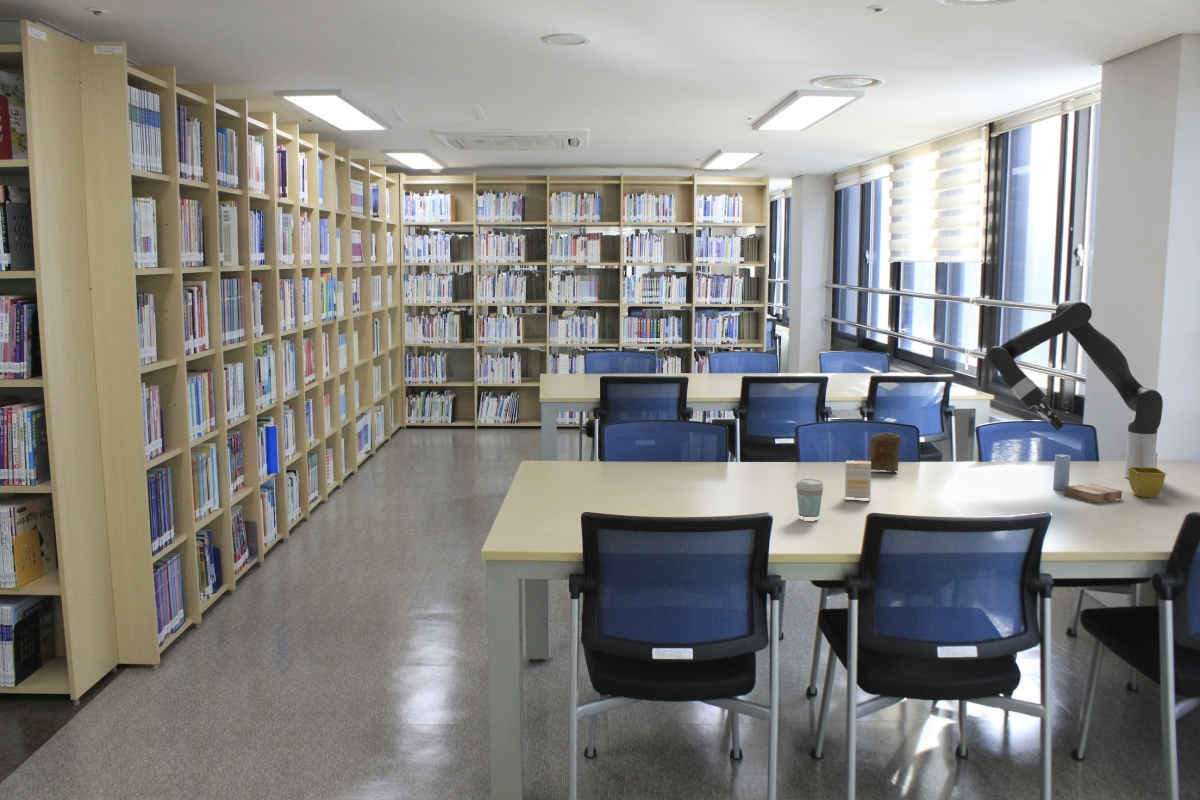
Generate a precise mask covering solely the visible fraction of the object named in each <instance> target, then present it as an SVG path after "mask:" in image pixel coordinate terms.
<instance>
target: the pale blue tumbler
mask: <svg viewBox="0 0 1200 800" xmlns="http://www.w3.org/2000/svg"><path fill="white" fill-rule="evenodd" d="M1070 469H1071V455H1069V454H1062V453H1061V454H1054V469H1053V470H1054V471H1053V485H1052V486H1053V487H1052V488H1053V490H1054V489H1055V491H1058V490H1059V491H1060V492H1065V487H1066V486H1070V471H1071V470H1070Z"/></svg>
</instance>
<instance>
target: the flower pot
mask: <svg viewBox="0 0 1200 800" xmlns="http://www.w3.org/2000/svg"><path fill="white" fill-rule="evenodd" d="M1128 469H1129V478H1128V482H1129V486H1130V488H1131V490H1132V492H1133V494H1135V496H1136V495H1138V497H1139V496H1141V497H1140V498H1156V497H1157V496H1158V495H1159V494H1160V493H1161V491H1162V489H1163V487H1164V483H1165V479H1166V473H1165V472H1164V471H1162V470H1160V469H1159V468H1158V467H1156V468H1146V467H1128Z"/></svg>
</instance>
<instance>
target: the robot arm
mask: <svg viewBox="0 0 1200 800" xmlns="http://www.w3.org/2000/svg"><path fill="white" fill-rule="evenodd" d="M1092 314H1093V311H1092V308H1091V306H1090V305H1089V304H1088V303H1087V302H1084V301H1079V300H1067V301H1063V302H1061V303H1059V304H1058V305H1057V307H1056V309H1055V317H1054V318H1051V319H1049V320H1048V321H1044V322H1043V323H1040V324H1037V325H1035V326H1032V327H1029V328H1026V329H1025V330H1023V331H1022V332H1019V333H1017V334H1016V335H1014V336H1012V337H1010V338H1009V339H1008V340H1007V341H1006V342H1004V344H1002V345H999V346H998V345H993V346H991V348H989V349H988V350H987V352H986V353H985V354H984V355H985V356H984V358H983V363H984V366H985V367H987V368H988V369H990V370H997V371H998V372H999V373H1000V376H1001V379H1002V381H1003V383H1004V384H1006V386H1007V387H1008V388H1009V389H1010V390H1011V391H1012V393H1013V395H1014V396H1016V398H1018V400H1019V401H1020V402H1021V403H1022V405H1024V406H1025V408H1026V409H1028V410H1030V409H1032V408H1033V407H1035V409H1036V413H1037V414H1039V415H1040V416H1041V418H1042V419H1044V420H1045V421H1046V422H1047V423H1050V425H1051V426H1052V427H1053V428H1054V429H1055V430H1056V431H1060V429H1062V428H1063V427H1064V426H1065V425H1064V423H1063V422H1062V421H1061V420H1060V419H1059V418H1058V416H1057V415H1056V413H1055V412H1054V410H1053V409H1052V408H1051V407H1050V406H1049V404H1048V403H1046V402H1045V401H1043V400H1044V399H1045V398H1046V397H1047V395H1046V394H1045V393H1044V391H1042V389H1040V387H1039V386H1038V385H1037V384H1036V383H1035V382H1034V380H1032V379H1031V378H1029V376H1027V374H1026V373H1025V372H1024V371H1023V370H1022V369H1021V368H1020V366H1018V364H1017V363H1016V361H1015V359H1016V358H1017V357H1020V356H1021V355H1024V354H1025V353H1027V352H1030V351H1031V350H1033V349H1035V348H1036V347H1038V346H1040V345H1042V344H1044V343H1045V342H1047V341H1049V340H1051V339H1053V338H1055V337H1058V336H1060V335H1062V334H1064V333H1066V332H1068V333H1069V334H1071V336H1072V337H1073V338H1074V339H1075V340H1076V341H1077V343H1078V344H1079V345H1080V346H1081V348H1082V349H1083V350H1084V351H1085V353H1086V354H1087V355H1088V357H1089V358H1090V359H1091V361H1092V362H1093V363H1094V365H1095V366H1096V367H1097V368H1098V369H1099V371H1100V372H1101V373H1102V374H1103V375H1104V376H1105V378H1107V380H1108V381H1109V382H1110V383H1111V384H1112V385H1113V386H1114V387H1115V390H1117V393H1118V394H1119V396H1120V397H1121V398H1122V400H1123V402H1124V403H1125V406H1127V408H1128V409H1130V410H1131V411H1132V412H1135V416H1134V420H1133V421H1132V422H1130V423H1128V427H1127V439H1126V440H1127V441H1126V453H1125V456H1126V457H1125V465H1124V466H1125V467H1124V468H1125V469H1124V470H1125V471H1124V478H1126V479H1129V469H1128V467H1146V468H1158V467H1157V466H1158V465H1157V464H1158V453H1157V443H1158V442H1157V440H1158V430H1159V427H1160V425H1161V422H1162V414H1163V408H1164V407H1163V405H1164V403H1163V400H1164V399H1163V397H1162V395H1161V393H1160V392H1159V391H1157V390H1155V389H1151V388H1146V387H1144V386H1143V385H1142V384H1141V383H1139V381H1138V380H1137V379H1136V378H1135V377H1134V375H1133V374H1132V373H1131V370H1130V367H1129V362H1128V360H1127V358H1126V356H1125V354H1124V353H1123V352H1122V351H1121V350H1120V349H1119V348H1118V346H1117V345H1116V344H1115V343H1114V342H1113V341H1112V340H1111V339H1110V338H1108V337H1107V336H1106V335H1104V334H1103V333H1102V332H1100V331H1099V330H1097V329H1096V328H1095V327H1094V326H1093V325H1092V324H1091V323H1090V320H1091V318H1092Z"/></svg>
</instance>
